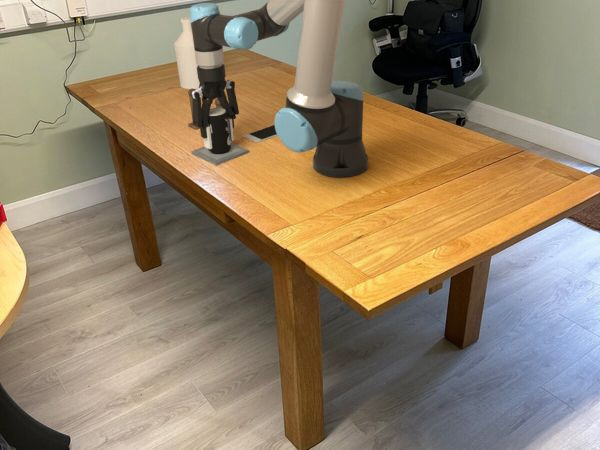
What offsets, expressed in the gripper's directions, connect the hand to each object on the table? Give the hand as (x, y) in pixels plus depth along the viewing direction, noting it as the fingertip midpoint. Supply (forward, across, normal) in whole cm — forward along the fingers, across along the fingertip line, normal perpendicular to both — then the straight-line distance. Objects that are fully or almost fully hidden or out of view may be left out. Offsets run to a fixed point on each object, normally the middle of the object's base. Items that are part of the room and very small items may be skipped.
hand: (219, 143), depth 170 cm
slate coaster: (+3, 0, 0) cm, 3 cm away
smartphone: (+4, -20, -1) cm, 20 cm away
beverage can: (+2, 0, 0) cm, 2 cm away
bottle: (+3, -34, -61) cm, 70 cm away
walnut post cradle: (+3, -8, -16) cm, 18 cm away
